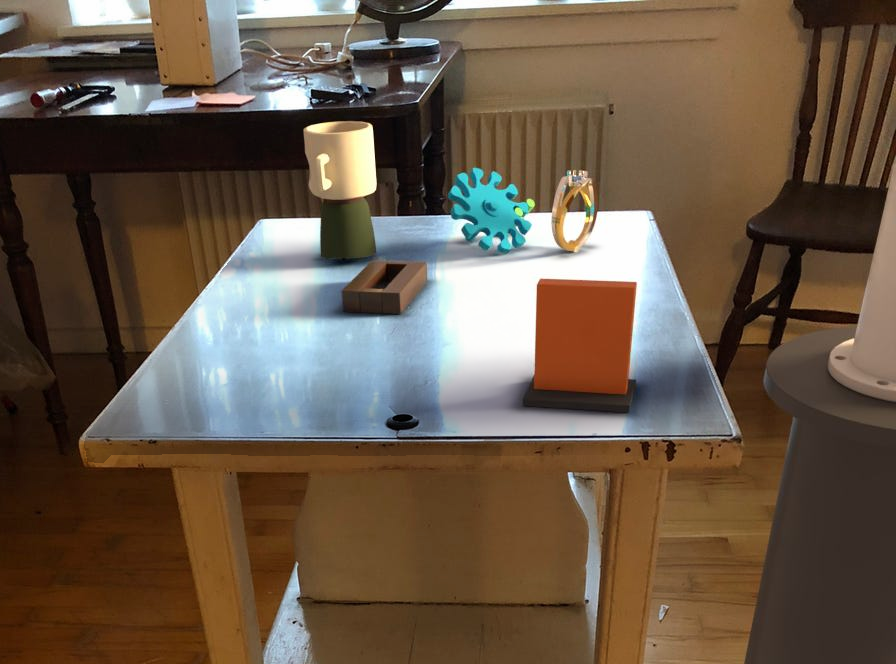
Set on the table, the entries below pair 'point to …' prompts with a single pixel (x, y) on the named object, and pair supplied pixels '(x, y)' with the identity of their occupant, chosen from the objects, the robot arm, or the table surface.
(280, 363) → the table surface
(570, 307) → the orange rectangular board
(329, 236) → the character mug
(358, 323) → the table surface
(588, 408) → the mat
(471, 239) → the gear
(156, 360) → the table surface
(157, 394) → the table surface
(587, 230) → the ring
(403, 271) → the frame
